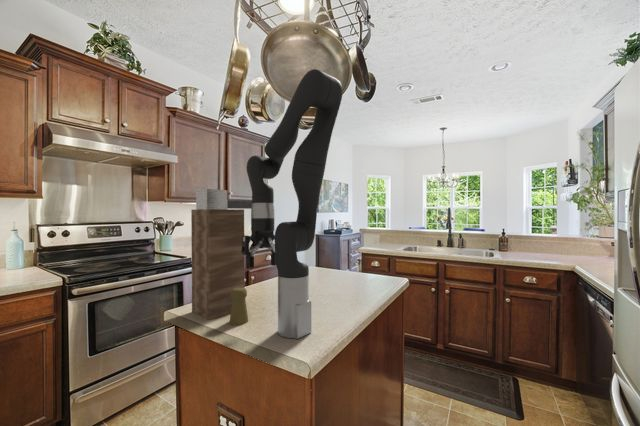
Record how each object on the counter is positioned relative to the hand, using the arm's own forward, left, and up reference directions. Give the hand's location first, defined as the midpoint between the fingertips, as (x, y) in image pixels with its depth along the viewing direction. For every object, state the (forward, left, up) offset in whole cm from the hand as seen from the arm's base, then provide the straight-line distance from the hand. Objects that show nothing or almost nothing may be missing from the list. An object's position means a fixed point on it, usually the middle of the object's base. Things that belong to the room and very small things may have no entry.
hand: (262, 266), depth 96 cm
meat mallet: (+22, -2, +19) cm, 29 cm away
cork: (+7, +5, -18) cm, 20 cm away
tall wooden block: (+22, +3, -18) cm, 28 cm away
